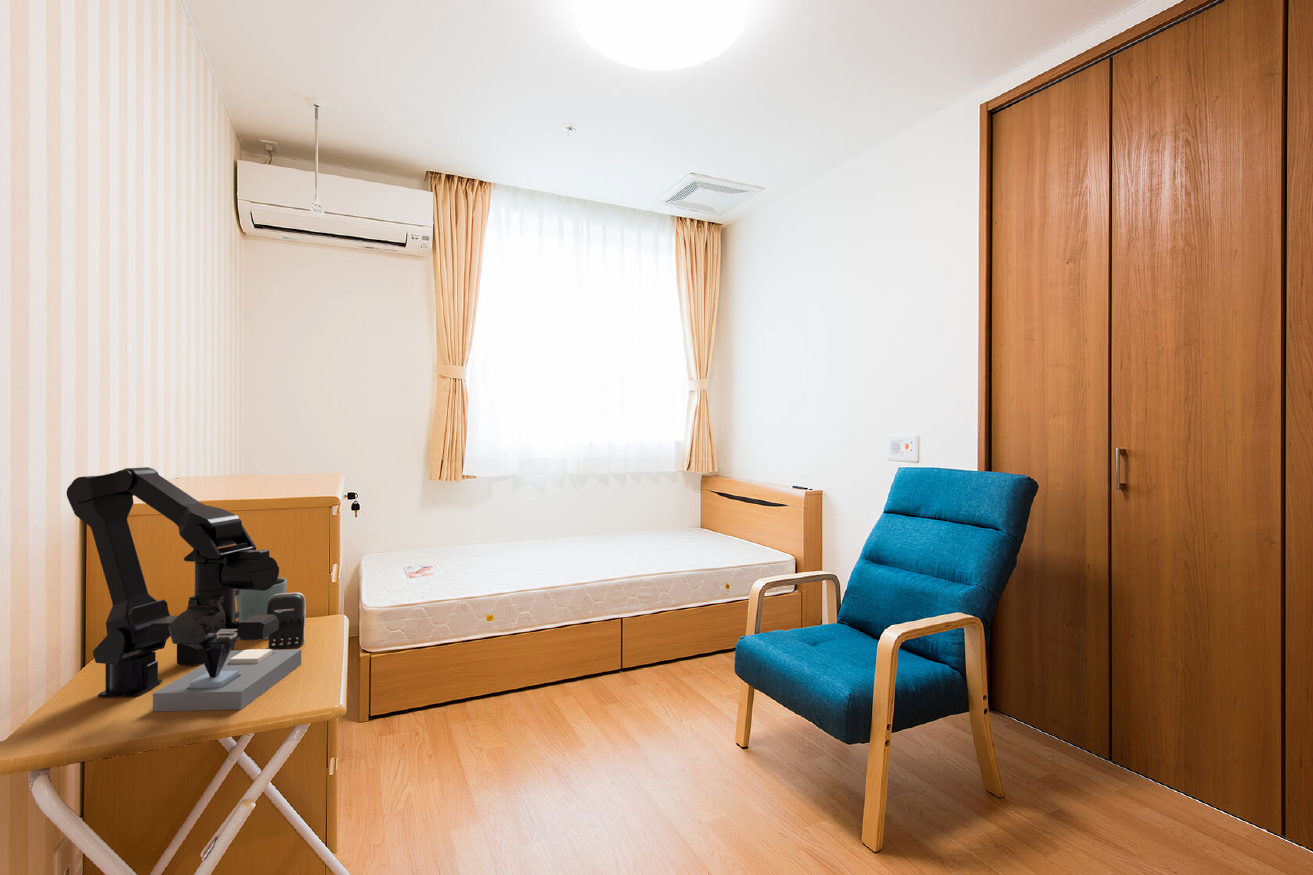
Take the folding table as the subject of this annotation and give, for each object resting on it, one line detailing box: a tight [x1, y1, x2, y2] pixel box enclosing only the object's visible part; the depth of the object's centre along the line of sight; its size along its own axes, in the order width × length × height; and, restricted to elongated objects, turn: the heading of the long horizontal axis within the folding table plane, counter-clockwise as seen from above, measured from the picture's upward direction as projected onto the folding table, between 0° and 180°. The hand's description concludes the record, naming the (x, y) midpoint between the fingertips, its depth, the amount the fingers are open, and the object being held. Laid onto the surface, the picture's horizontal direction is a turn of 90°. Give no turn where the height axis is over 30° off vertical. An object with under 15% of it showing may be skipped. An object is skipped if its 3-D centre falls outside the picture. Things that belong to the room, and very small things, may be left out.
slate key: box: [190, 671, 239, 689], centre depth 106 cm, size 5×5×2 cm
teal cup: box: [235, 576, 288, 642], centre depth 140 cm, size 10×10×12 cm
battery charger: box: [267, 592, 306, 650], centre depth 132 cm, size 7×4×11 cm, turn 111°
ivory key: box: [230, 648, 273, 664], centre depth 117 cm, size 5×5×2 cm
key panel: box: [152, 648, 302, 712], centre depth 112 cm, size 14×20×3 cm
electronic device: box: [176, 626, 236, 666], centre depth 126 cm, size 4×10×10 cm, turn 174°
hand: (214, 676), depth 106 cm, fingers closed, pressing on slate key
